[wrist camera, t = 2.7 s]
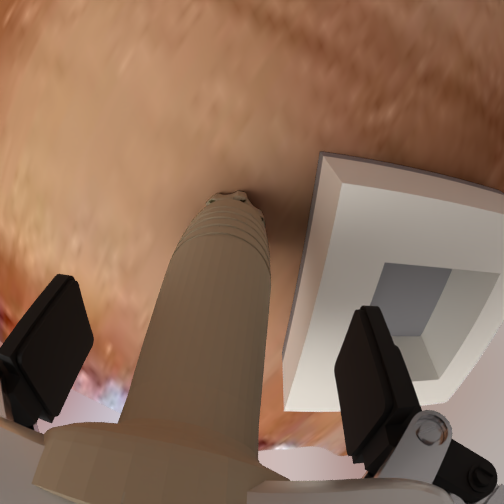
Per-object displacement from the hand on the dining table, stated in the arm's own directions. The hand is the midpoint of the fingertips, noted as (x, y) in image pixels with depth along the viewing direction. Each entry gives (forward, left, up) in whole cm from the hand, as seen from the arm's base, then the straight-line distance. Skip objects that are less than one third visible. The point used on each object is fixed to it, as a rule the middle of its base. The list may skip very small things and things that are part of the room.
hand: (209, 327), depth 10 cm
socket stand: (+3, +10, -8) cm, 13 cm away
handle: (0, 0, -8) cm, 8 cm away
